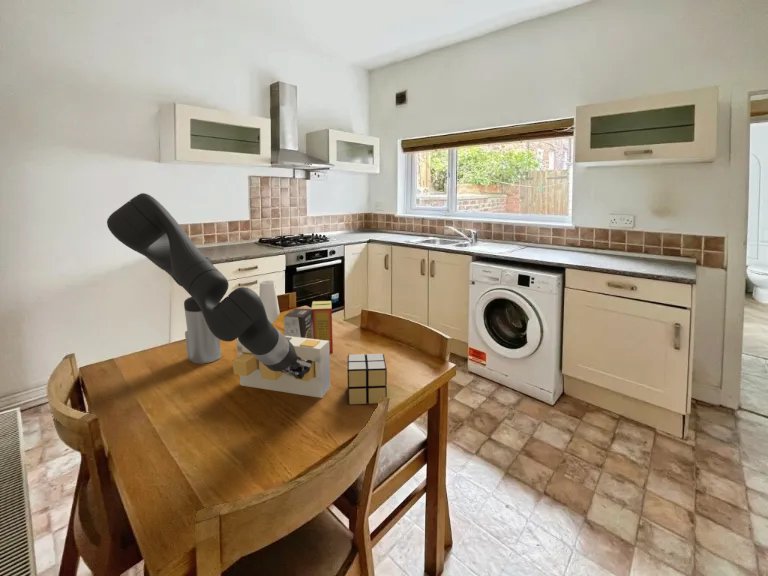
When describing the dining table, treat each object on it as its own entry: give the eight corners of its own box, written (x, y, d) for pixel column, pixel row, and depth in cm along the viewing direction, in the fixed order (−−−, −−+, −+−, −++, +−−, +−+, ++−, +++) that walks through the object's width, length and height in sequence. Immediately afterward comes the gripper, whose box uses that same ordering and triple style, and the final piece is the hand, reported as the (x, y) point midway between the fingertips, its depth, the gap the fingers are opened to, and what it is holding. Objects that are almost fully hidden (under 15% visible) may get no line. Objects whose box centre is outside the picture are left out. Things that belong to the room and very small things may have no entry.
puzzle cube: (348, 387, 116) (347, 354, 114) (383, 385, 117) (383, 353, 114) (348, 405, 106) (347, 370, 104) (386, 404, 107) (386, 368, 105)
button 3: (294, 379, 107) (294, 365, 106) (304, 370, 113) (304, 356, 112) (308, 381, 106) (308, 367, 105) (318, 371, 112) (317, 358, 111)
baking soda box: (332, 352, 139) (331, 307, 135) (313, 353, 139) (311, 308, 135) (332, 342, 148) (331, 299, 145) (314, 343, 148) (312, 300, 144)
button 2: (261, 378, 108) (260, 364, 107) (273, 369, 113) (272, 355, 112) (275, 380, 107) (274, 366, 106) (286, 371, 112) (285, 357, 111)
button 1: (233, 374, 110) (232, 360, 109) (246, 365, 115) (245, 352, 114) (246, 376, 109) (245, 362, 108) (259, 367, 114) (258, 353, 113)
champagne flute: (257, 353, 139) (252, 283, 133) (267, 345, 145) (262, 279, 139) (276, 354, 137) (271, 285, 131) (285, 347, 144) (281, 280, 138)
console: (240, 385, 117) (236, 337, 113) (252, 376, 122) (249, 330, 119) (321, 397, 110) (319, 347, 106) (330, 387, 116) (329, 339, 112)
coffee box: (304, 366, 129) (302, 317, 125) (285, 364, 130) (282, 315, 126) (315, 354, 138) (313, 308, 134) (297, 353, 139) (294, 307, 135)
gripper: (240, 360, 91) (273, 385, 106) (294, 368, 88) (320, 393, 102) (252, 330, 95) (282, 358, 109) (304, 336, 91) (328, 364, 106)
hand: (300, 375), depth 106 cm, fingers closed
